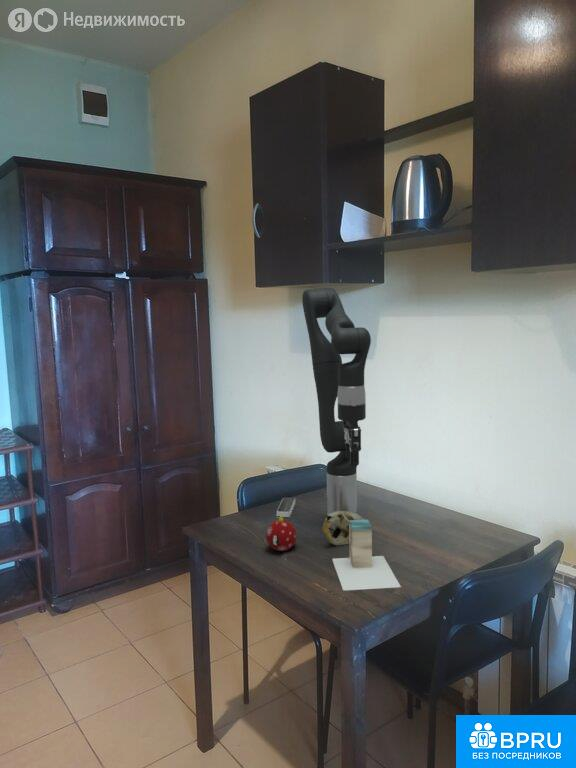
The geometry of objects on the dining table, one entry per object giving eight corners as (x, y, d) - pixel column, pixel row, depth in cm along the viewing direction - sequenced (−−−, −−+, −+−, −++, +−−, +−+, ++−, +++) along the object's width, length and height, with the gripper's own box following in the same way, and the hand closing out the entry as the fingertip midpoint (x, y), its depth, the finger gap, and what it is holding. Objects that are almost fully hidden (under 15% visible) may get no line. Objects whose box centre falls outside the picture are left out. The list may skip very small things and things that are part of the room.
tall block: (349, 560, 153) (349, 520, 152) (368, 559, 154) (367, 519, 152) (353, 568, 148) (352, 527, 147) (372, 567, 149) (371, 526, 148)
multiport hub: (276, 518, 189) (276, 511, 189) (283, 503, 203) (283, 497, 203) (289, 518, 188) (289, 512, 188) (295, 504, 203) (295, 498, 202)
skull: (307, 540, 164) (314, 506, 164) (342, 540, 175) (349, 507, 175) (333, 551, 157) (340, 515, 157) (367, 550, 168) (374, 516, 169)
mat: (332, 560, 155) (332, 558, 155) (383, 557, 156) (383, 555, 156) (343, 592, 137) (343, 590, 137) (401, 589, 138) (401, 587, 138)
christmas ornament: (302, 546, 165) (301, 513, 163) (288, 558, 157) (287, 523, 156) (275, 542, 168) (274, 509, 167) (261, 553, 161) (260, 518, 160)
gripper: (334, 398, 162) (335, 455, 164) (341, 406, 148) (342, 469, 150) (360, 397, 162) (361, 454, 164) (370, 405, 148) (371, 467, 150)
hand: (352, 461), depth 157 cm, fingers open, 7 cm apart
